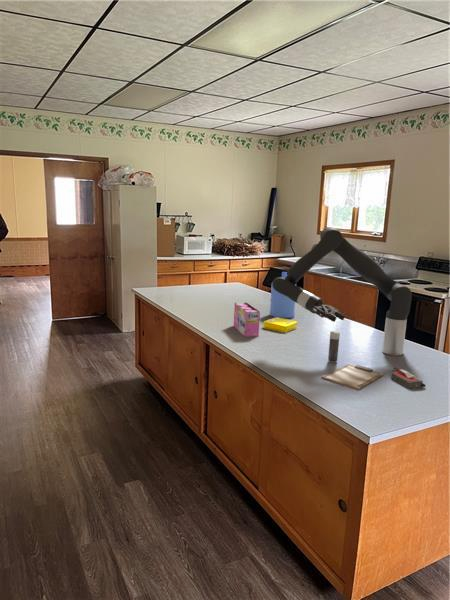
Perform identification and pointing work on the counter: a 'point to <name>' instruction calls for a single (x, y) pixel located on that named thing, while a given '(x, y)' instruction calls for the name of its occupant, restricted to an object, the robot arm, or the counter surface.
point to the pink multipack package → (246, 319)
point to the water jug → (281, 303)
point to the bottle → (333, 347)
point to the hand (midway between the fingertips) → (339, 319)
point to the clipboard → (353, 376)
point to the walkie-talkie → (406, 379)
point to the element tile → (280, 325)
